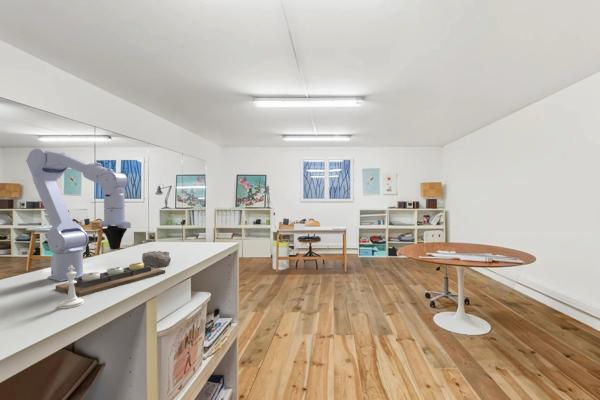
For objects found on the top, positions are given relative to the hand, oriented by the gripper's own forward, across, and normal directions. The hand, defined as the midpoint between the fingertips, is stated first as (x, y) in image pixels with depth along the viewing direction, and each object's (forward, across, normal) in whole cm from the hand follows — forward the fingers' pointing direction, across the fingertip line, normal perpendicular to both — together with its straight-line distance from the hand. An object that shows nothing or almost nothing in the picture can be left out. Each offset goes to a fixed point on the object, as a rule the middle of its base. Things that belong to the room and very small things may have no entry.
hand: (114, 249), depth 91 cm
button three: (+8, +2, +6) cm, 11 cm away
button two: (+8, +2, -1) cm, 9 cm away
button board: (+10, +2, -1) cm, 10 cm away
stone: (+10, -4, +18) cm, 21 cm away
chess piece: (+10, +14, -18) cm, 25 cm away
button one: (+9, +2, -8) cm, 12 cm away
